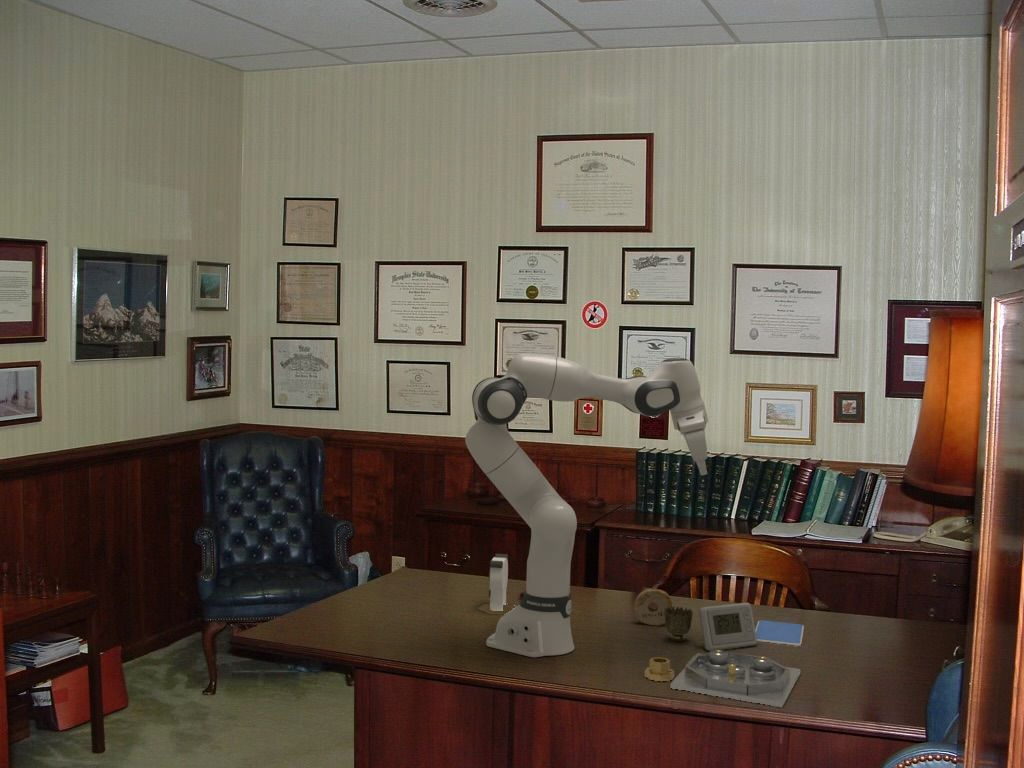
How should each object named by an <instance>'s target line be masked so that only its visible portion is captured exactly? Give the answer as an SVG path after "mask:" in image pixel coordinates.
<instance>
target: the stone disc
mask: <svg viewBox="0 0 1024 768" xmlns="http://www.w3.org/2000/svg"><path fill="white" fill-rule="evenodd" d="M672 603H673V602H672V600H671V597H670V595H669V594H668V593H667V592H666V591H664V590H662V589H659V588H646V589H643V590H642V591H640V593H639V594H638V595H637V597H636V598H635V603H634V608H633V609H634V614H635V616H636V618H637V619H638V621H640V622H641V623H642V624H645V625H649V626H652V625H653V626H663V625H664V624H665V612H664V611H665V608H666V609H667V607H670V608H671V609H672V607H673V604H672ZM650 604H656V605H657V608H655V609H653V608H652V607H650Z"/></svg>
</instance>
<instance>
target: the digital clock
mask: <svg viewBox="0 0 1024 768" xmlns="http://www.w3.org/2000/svg"><path fill="white" fill-rule="evenodd" d="M698 614H699V620H700V625H701V632H702V638H703V645H704V648H705V650H706V651H709V652H710V651H711V650H716V649H720V650H723V651H726V650H725V649H728V650H734V649H733V648H736V649H740V648H739V647H744V648H747V647H751V646H752V647H753V646H756V645H757V643H758V642H757V637H756V631H755V630H756V625H755V621H754V615H753V609H752V606H751V604H750V603H749V602H741V603H736V602H734V603H726V604H716V605H711V606H703V607H700V608H699V610H698Z"/></svg>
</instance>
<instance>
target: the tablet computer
mask: <svg viewBox="0 0 1024 768" xmlns="http://www.w3.org/2000/svg"><path fill="white" fill-rule="evenodd" d="M804 630H805V625H803V624H801V623H800V624H799V623H790V622H782V621H781V622H780V621H771V620H762V619H761V620H758V621H757V623H756V626H755V631H756V637H757V641H760V642H759V643H763V642H770V643H769V644H772V643H777V644H776V645H780V644H787V645H786V646H789V645H794V646H793V647H797V646H800V647H802V645H803V638H804V637H803V636H804ZM801 644H802V645H801Z"/></svg>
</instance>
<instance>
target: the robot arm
mask: <svg viewBox="0 0 1024 768" xmlns="http://www.w3.org/2000/svg"><path fill="white" fill-rule="evenodd" d="M506 370H507V371H506V373H505V374H504V375H503V376H502V377H500V378H499V377H495V376H493V377H486V378H484V379H482V380H481V381H479V382H478V383H477V384H476V386H475V387H474V389H473V392H472V396H471V403H472V407H473V413H474V418H475V420H476V422H475V423H474V424H473V425H472V426H471V427H470V428H469V429H468V431H467V433H466V434H465V435H466V436H465V440H464V441H465V445H466V447H467V449H468V451H469V453H470V455H471V456H472V458H473V459H474V461H475V463H476V464H477V465H478V466H479V468H480V469H481V470H482V472H483V473H484V474H485V475H486V477H487V478H488V479H489V480H490V482H492V484H493V485H494V486H495V487H496V488H497V490H498V491H499V492H500V493H501V495H503V497H504V498H505V499H506V501H507V502H509V504H510V505H511V506H512V507H513V509H514V510H515V512H516V513H518V515H519V516H520V517H521V518H522V519H523V521H524V522H525V523H526V524H527V526H529V528H530V531H531V537H530V545H529V551H528V557H527V560H526V588H524V589H523V591H522V592H520V593H519V594H518V595H517V596H516V597H517V598H516V601H519V604H518V605H515V606H516V607H515V608H513V609H512V610H511V611H509V612H508V613H506V614H504V615H502V616H501V617H500V618H499V620H498V621H497V624H496V629H495V632H494V633H492V634H491V635H490V636H488V638H487V639H486V642H485V645H486V646H487V647H489V648H494V649H497V650H501V651H505V652H509V653H514V654H517V655H521V656H522V655H523V656H526V657H530V658H539V657H545V656H560V655H561V656H562V655H565V654H568V653H571V652H573V651H574V650H575V644H574V640H573V636H572V635H573V634H572V628H571V627H572V626H571V614H572V593H571V591H570V589H571V562H572V557H573V551H574V546H575V538H576V537H575V536H576V532H577V528H578V527H577V525H578V521H577V515H576V513H575V510H574V508H573V507H572V506H571V505H570V504H568V502H566V500H564V498H562V497H561V496H560V495H559V494H558V492H557V491H556V490H555V488H554V487H553V486H552V485H551V484H550V482H549V481H548V480H547V478H546V477H545V476H544V475H543V473H542V472H541V470H540V469H539V468H538V467H537V466H536V464H535V463H534V462H533V461H532V459H531V458H530V457H529V456H528V455H527V453H526V451H524V450H523V448H522V447H521V446H520V445H519V444H518V442H516V440H515V439H514V438H513V437H512V435H511V433H509V430H508V426H507V424H508V423H511V422H512V421H514V420H515V419H516V418H517V416H519V414H520V412H521V410H522V408H523V406H524V404H525V403H526V401H527V399H528V398H531V397H532V398H538V399H542V400H548V401H553V402H566V403H568V402H576V401H578V400H579V399H583V398H593V399H597V400H598V399H599V400H602V401H608V402H614V403H617V404H620V405H621V406H623V407H624V408H625V409H627V410H628V411H630V412H631V413H634V414H638V415H643V416H646V417H657V416H660V415H662V414H664V413H667V412H668V411H669V412H670V415H671V416H670V417H671V421H672V425H673V428H674V430H676V431H679V433H680V435H682V436H683V437H684V440H685V443H686V445H687V447H688V450H689V452H690V455H691V458H692V460H693V462H695V463H696V466H697V468H698V471H699V474H700V476H706V475H708V471H707V464H706V460H707V459H708V447H707V445H708V444H707V440H706V431H705V429H706V428H707V424H708V422H709V418H708V414H707V409H706V406H705V402H704V399H702V396H701V385H700V381H699V377H698V375H697V372H696V368H695V366H694V364H693V362H692V361H691V360H690V359H687V358H684V357H679V358H678V357H673V358H666V359H664V360H661V362H660V364H659V365H658V366H657V367H656V369H654V370H653V371H651V373H649V375H647V376H645V375H635V376H630V377H628V378H627V377H626V378H620V377H613V376H609V375H603V374H598V373H596V372H592V371H590V370H588V369H586V368H585V366H583V365H582V364H580V363H578V362H575V361H574V360H570V359H567V358H564V357H560V356H556V355H550V354H543V353H529V352H528V353H518V354H516V355H515V356H513V358H512V359H511V360H510V362H509V364H508V367H507V369H506Z"/></svg>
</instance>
